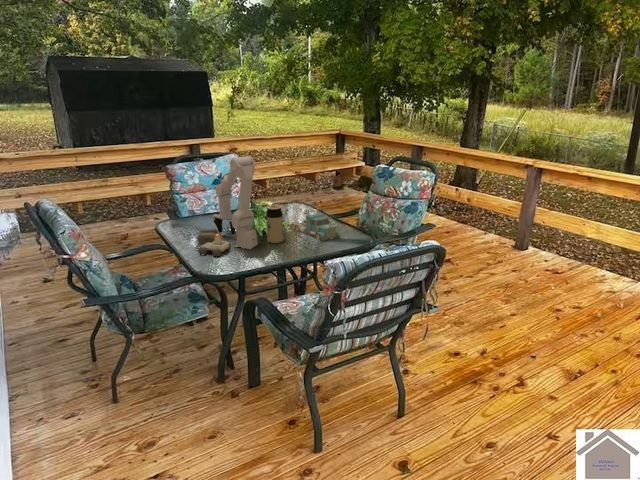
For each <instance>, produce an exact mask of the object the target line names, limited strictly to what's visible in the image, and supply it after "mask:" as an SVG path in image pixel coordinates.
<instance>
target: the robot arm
mask: <svg viewBox="0 0 640 480" xmlns="http://www.w3.org/2000/svg"><path fill="white" fill-rule="evenodd" d="M229 165H230V168H229V171H228V173H227V174H225V175H224V176H223V177H222V181H220V183H219V184H216V186H215V194H216V196H217V198H218V207H219V208H218V209H219V214H218V213H217V214H216V213H214V214H212V220H213V223H214V224H215V226H216V228H217V232H218V233H220V234H222V233H223V220H225V221H229V222H228V224H229V226H230V232H231V233H230V234H231V235H235V234H236V244H235V245H233V248H237V247H241V248H240V249H245V248H246V250H252V249H253V248H254V247H257V246H258V245H259V243H258V236H257V235H258V234H257V230H256V229H253V226H254V224H255V213H254V212H253V210H250V207H251V199H252V198H251V197H252V188H253V179H254V175H255V167H256V163H255V161H254V158H253V157H252V156H251V155H247V156H239V157H232V158H230V162H229ZM236 178H238V179H240V186H239V187H240V188H239V195H238V197H239V198H238V207H237V208H238V209H237V210H236V211H234V213H233V214H232V209H231V199H232V192H233V190H232V189H233V186H234V185H235V183H236Z"/></svg>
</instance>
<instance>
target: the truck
mask: <svg viewBox="0 0 640 480" xmlns="http://www.w3.org/2000/svg"><path fill="white" fill-rule="evenodd" d="M305 215H306V216H305V220H304V221H303V222H297V221H296V222H292V223H291V224H290V228H291V229H292V230H295V231H296V232H301V233H303V234H305V235H307V236H309V237H312V238H314V239H316V240H318V241H320V242H326V241H331V240H334V239H338V238H341V235H340V234H339V230H338V229H336V228H337V227H336V226H334V225H333V223H332V222H330V220H331V219H330V218H328V217H326V216H325V214H324V213H322V212H320V206H319V207H318V206H317V207H316V211H315V213H313V214H310V210H309V208H308V209H305Z"/></svg>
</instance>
